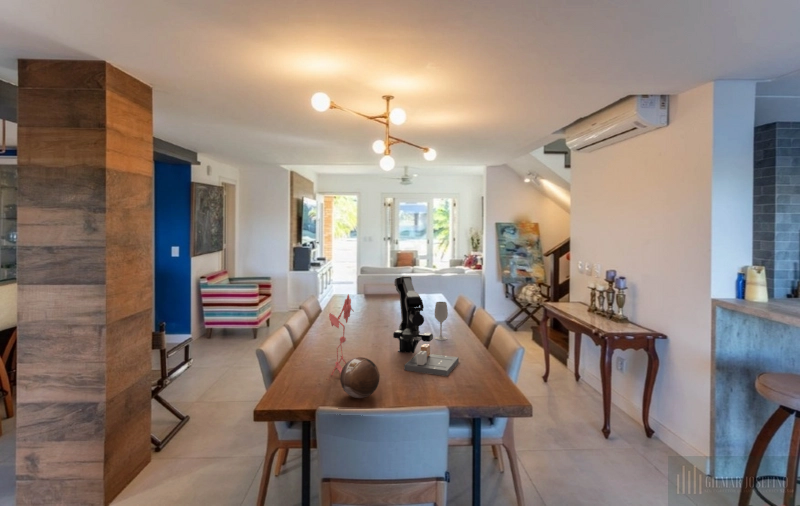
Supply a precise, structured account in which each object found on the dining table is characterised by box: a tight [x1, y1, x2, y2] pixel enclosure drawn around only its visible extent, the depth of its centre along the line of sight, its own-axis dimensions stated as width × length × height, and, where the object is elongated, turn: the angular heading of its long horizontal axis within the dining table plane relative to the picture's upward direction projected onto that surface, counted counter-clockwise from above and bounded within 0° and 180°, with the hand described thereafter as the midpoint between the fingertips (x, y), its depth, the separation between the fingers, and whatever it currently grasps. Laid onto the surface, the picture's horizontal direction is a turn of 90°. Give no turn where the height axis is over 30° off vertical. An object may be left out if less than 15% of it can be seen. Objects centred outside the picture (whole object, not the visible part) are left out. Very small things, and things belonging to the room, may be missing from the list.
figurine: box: [327, 293, 355, 381], centre depth 192 cm, size 15×26×35 cm, turn 175°
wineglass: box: [434, 301, 449, 341], centre depth 249 cm, size 8×8×21 cm
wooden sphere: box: [339, 356, 381, 399], centre depth 166 cm, size 15×15×15 cm
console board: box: [403, 353, 460, 377], centre depth 202 cm, size 20×20×3 cm
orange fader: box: [420, 343, 431, 357], centre depth 208 cm, size 3×5×5 cm, turn 158°
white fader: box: [416, 350, 427, 365], centre depth 197 cm, size 3×5×5 cm, turn 158°
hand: (412, 353), depth 211 cm, fingers closed
